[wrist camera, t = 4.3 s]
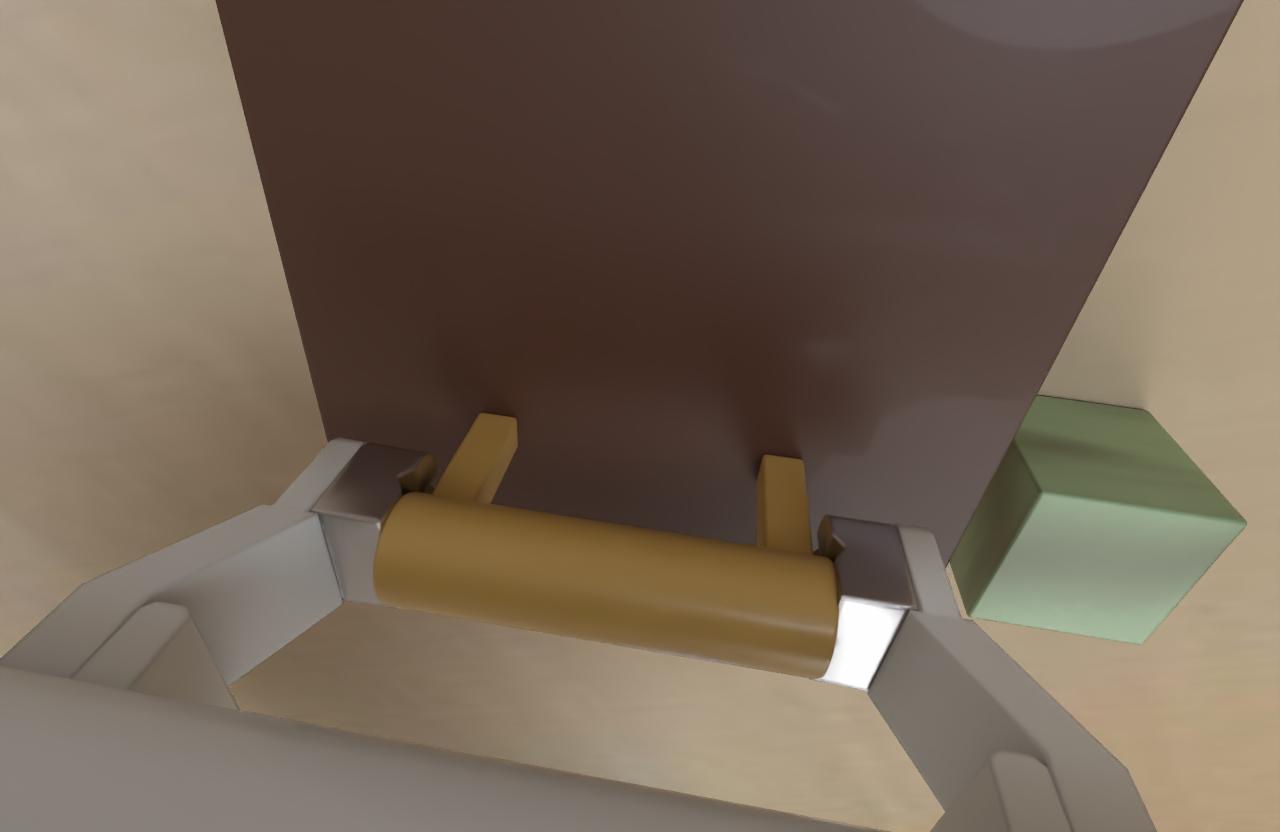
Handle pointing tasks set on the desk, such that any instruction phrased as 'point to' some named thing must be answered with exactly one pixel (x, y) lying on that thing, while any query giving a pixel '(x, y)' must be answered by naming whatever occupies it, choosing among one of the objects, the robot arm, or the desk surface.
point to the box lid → (694, 276)
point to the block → (1091, 525)
